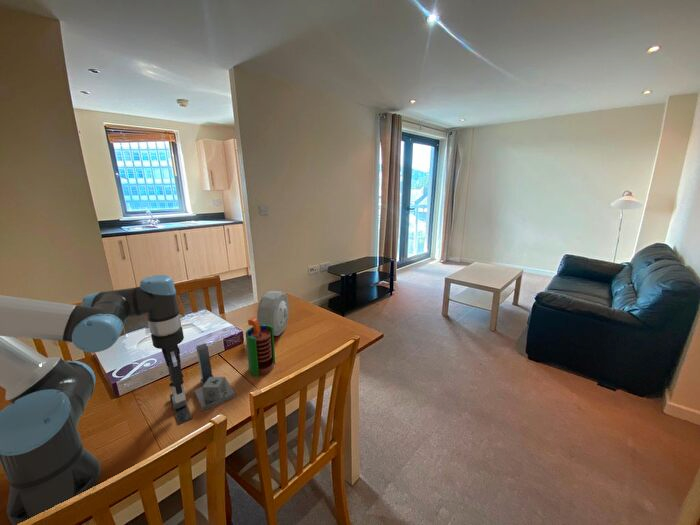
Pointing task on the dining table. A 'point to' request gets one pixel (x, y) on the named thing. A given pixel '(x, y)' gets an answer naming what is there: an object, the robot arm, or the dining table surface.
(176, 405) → the lever
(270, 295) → the dial
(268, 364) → the motor
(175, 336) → the robot arm
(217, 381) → the dice cube
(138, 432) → the dining table surface
